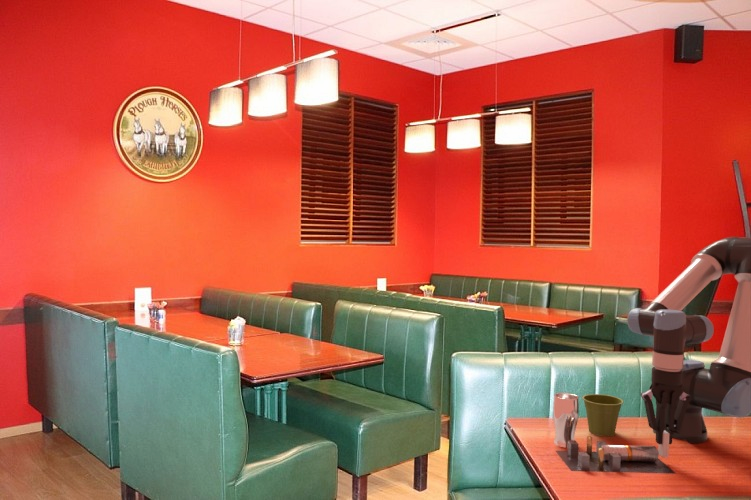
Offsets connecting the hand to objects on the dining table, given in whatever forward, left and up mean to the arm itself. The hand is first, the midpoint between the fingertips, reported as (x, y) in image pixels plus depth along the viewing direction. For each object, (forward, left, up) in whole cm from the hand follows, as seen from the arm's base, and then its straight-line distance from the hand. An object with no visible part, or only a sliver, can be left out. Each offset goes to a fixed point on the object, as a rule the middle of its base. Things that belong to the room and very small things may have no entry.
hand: (663, 455), depth 165 cm
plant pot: (+8, -24, -3) cm, 26 cm away
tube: (+9, 0, -2) cm, 9 cm away
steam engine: (+13, 0, -3) cm, 14 cm away
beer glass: (+22, -13, -3) cm, 26 cm away
